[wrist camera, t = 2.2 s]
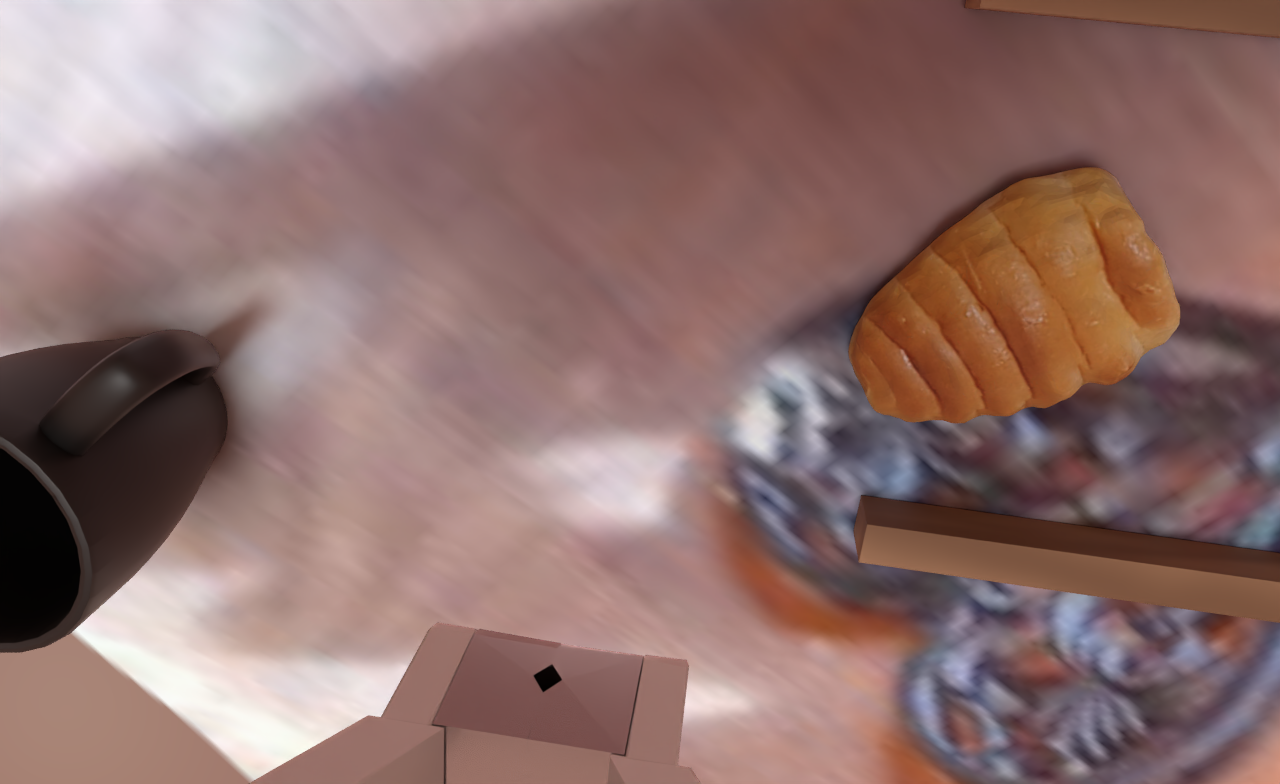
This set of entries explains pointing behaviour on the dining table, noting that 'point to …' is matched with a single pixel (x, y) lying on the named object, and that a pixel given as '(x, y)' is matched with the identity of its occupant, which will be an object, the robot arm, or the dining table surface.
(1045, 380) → the pastry
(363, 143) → the dining table surface
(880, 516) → the guide channel
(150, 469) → the mug
